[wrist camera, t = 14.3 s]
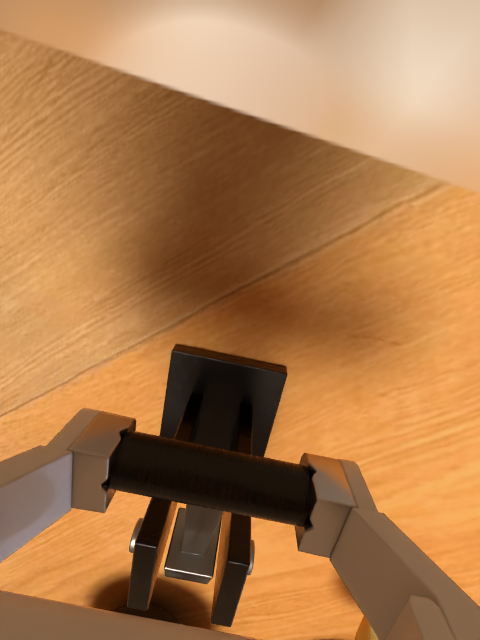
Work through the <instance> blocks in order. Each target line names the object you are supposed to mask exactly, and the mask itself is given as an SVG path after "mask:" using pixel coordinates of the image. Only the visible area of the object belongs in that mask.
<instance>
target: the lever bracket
mask: <svg viewBox="0 0 480 640" xmlns="http://www.w3.org/2000/svg"><path fill="white" fill-rule="evenodd" d="M286 377H287V370H286V367H283V366H278V365H273V364H268V363H263V362H259V361H254V360H249V359H244V358H239V357H234V356H229V355H225V354H220V353H215V352H210V351H205V350H200V349H196V348H191V347H186V346H181V345H175V347H174V348H173V350H172V353H171V360H170V367H169V374H168V381H167V388H166V395H165V402H164V409H163V417H162V424H161V431H160V436H161V437H166V438H171V439H176V440H181V441H186V442H191V443H195V444H200V445H205V446H210V447H215V448H220V449H225V450H230V451H235V452H240V453H245V454H250V455H255V456H260V457H264V454H265V451H266V447H267V444H268V440H269V437H270V433H271V430H272V426H273V423H274V419H275V416H276V412H277V409H278V405H279V402H280V398H281V395H282V391H283V388H284V384H285V381H286ZM177 503H178V502H173V501H168V500H163V499H158V498H153V497H152V498H151V501H150V503H149V506H148V509H147V511H146V514H145V517H144V519H143V518H139V520H138V521H137V523H136V526H135V528H134V531H133V534H132V538H131V542H130V547H129V552H131V553H133V561H132V569H131V576H130V584H129V592H128V600H127V607H128V608H133V609H138V610H143V611H147V609H148V607H149V603H150V600H151V596H152V592H153V589H154V585H155V582H156V578H157V574H158V571H159V567H160V564H161V560H162V556H163V553H164V549H165V546H166V542H167V539H168V535H169V531H170V528H171V524H172V521H173V517H174V513H175V510H176V506H177ZM254 553H255V545H254V541H253V540H251V517H250V516H244V515H239V514H234V513H229V512H224V513H223V516H222V525H221V534H220V543H219V552H218V561H217V570H216V579H215V588H214V597H213V606H212V615H211V623H212V624H216V625H222V626H227V627H231V625H232V622H233V619H234V616H235V612H236V609H237V606H238V603H239V600H240V596H241V593H242V590H243V587H244V584H245V581H246V577H247V575H251V572H252V569H253V563H254Z"/></svg>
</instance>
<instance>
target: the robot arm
mask: <svg viewBox="0 0 480 640" xmlns="http://www.w3.org/2000/svg"><path fill="white" fill-rule="evenodd" d="M135 430H136V420H135V418H130V417H126V416H121V415H117V414H112V413H108V412H104V411H102V412H101V411H98V410H93V409H89V408H83V409H81V410H80V411H79V412H78V413H77V414H76V415H75V416H74V417H73V418H72V419H71V420H70V421H69V422H68V423H67V424H66V426H65V427H64V428H63V429H62V430H61V431H60V432H59V433H58V434H57V435H56V436H55V437H54V438H53V439H52V440H51V441H50V442H49V443H48V445H47V446H41V445H40V446H38V447H35V448H33V449H30V450H28V451H26V452H23V453H21V454H18V455H16V456H14V457H11V458H9V459H7V460H4V461H2V462H0V562H2V561H3V560H4V559H6V558H7V557H9V556H10V555H11V554H13V553H14V552H15V551H17V550H18V549H19V548H21V547H22V546H23V545H25V544H26V543H27V542H29V541H30V540H31V539H33V538H34V537H35V536H37V535H38V534H39V533H41V532H42V531H43V530H45V529H46V528H47V527H49V526H50V525H51V524H53V523H54V522H55V521H57V520H58V519H59V518H61V517H62V516H63V515H65V514H66V513H67V512H69V511H70V510H71V508H76V509H82V510H89V511H95V512H101V513H105V511H106V509H107V507H108V505H109V503H110V501H111V500H112V498H113V496H114V494H115V492H116V490H113V489H111V488H110V485H109V478H110V474H111V472H112V467H113V464H114V461H115V458H116V455H117V452H118V450H119V447H120V443H121V441H122V439H123V438H124V436H125V435H126V434H127V433H128V432H129V431H135ZM300 465H304V466H305V467H306V468H307V469H308V471H309V475H310V481H311V482H310V504H309V510H308V512H309V513H308V517H307V520H306V522H305V524H303V525H302V526H295V531H296V538H297V546H298V551H301V552H306V553H310V554H314V555H319V556H323V557H328V558H330V561H331V563H332V565H333V566H334V568H335V569H336V571H337V573H338V574H339V576H340V577H341V579H342V581H343V582H344V584H345V585H346V587H347V589H348V590H349V592H350V593H351V595H352V597H353V598H354V600H355V601H356V603H357V605H358V606H359V608H360V609H361V611H362V613H363V614H364V616H365V618H366V619H367V621H368V622H369V624H370V626H371V627H372V629H373V630H374V632H375V634H376V635H377V637H378V638H379V640H480V607H479V606H478V605H477V604H476V603H475V602H474V601H473V600H472V599H471V598H470V597H469V596H468V595H467V594H466V593H465V592H464V591H463V590H462V589H461V588H460V587H459V586H458V585H457V584H456V583H455V582H454V581H452V580H451V579H450V578H449V577H448V576H447V575H446V574H445V573H444V572H443V571H442V570H441V569H440V568H439V567H438V566H437V565H436V564H435V563H434V562H433V561H432V560H431V559H430V558H429V557H428V556H427V555H426V554H425V553H424V552H423V551H422V550H421V549H420V548H419V547H418V546H417V545H416V544H415V543H414V542H412V541H411V540H410V539H409V538H408V537H407V536H406V535H405V534H404V533H403V532H402V531H401V530H400V529H399V528H398V527H397V526H396V525H395V524H394V523H393V522H392V521H391V520H390V519H389V518H388V517H387V516H386V515H385V514H384V513H379V512H378V510H377V508H376V506H375V504H374V501H373V499H372V497H371V494H370V492H369V490H368V488H367V485H366V483H365V481H364V478H363V476H362V474H361V472H360V469H359V467H358V465H357V464H356V463H355V462H353V461H348V460H342V459H334V458H329V457H324V456H319V455H314V454H309V453H304V454H303V455H302V457H301V460H300ZM0 640H261V639H256V638H251V637H245V636H240V635H235V634H229V633H224V632H219V631H214V630H208V629H203V628H198V627H192V626H187V625H182V624H176V623H171V622H166V621H160V620H155V619H150V618H144V617H139V616H134V615H128V614H123V613H118V612H112V611H107V610H102V609H96V608H91V607H86V606H80V605H75V604H70V603H65V602H59V601H54V600H49V599H44V598H38V597H33V596H28V595H22V594H17V593H12V592H7V591H1V590H0Z"/></svg>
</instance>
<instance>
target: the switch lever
mask: <svg viewBox="0 0 480 640" xmlns="http://www.w3.org/2000/svg"><path fill="white" fill-rule="evenodd" d="M310 482H311V481H310V475H309V471H308V469H307V468H306V467H305V466H304V465H300V464H295V463H290V462H285V461H280V460H275V459H270V458H265V457H260V456H255V455H250V454H245V453H240V452H235V451H230V450H225V449H220V448H215V447H210V446H205V445H200V444H195V443H191V442H186V441H181V440H176V439H171V438H166V437H161V436H156V435H151V434H146V433H141V432H136V431H129V432H128V433H127V434H126V435H125V436H124V438H123V439H122V441H121V443H120V447H119V450H118V452H117V455H116V458H115V461H114V464H113V467H112V472H111V474H110V478H109V485H110V488H111V489H113V490H118V491H123V492H128V493H133V494H138V495H143V496H148V497H153V498H158V499H163V500H168V501H173V502H179V503H184V504H187V505H186V509H185V508H179V509H178V513H177V517H176V521H175V526H174V530H173V534H172V538H171V542H170V546H169V550H168V554H167V558H166V562H165V566H164V569H165V576H167V577H172V578H177V579H182V580H187V581H193V582H198V583H203V584H208V582H209V581H210V580H211V579H212V578H213V574H214V567H215V560H216V554H217V547H218V540H219V533H220V527H221V520H222V515H223V513H224V512H229V513H234V514H239V515H244V516H250V517H255V518H260V519H265V520H270V521H275V522H280V523H285V524H290V525H295V526H302V525H303V524H305V522H306V520H307V517H308V513H309V512H308V510H309V504H310Z"/></svg>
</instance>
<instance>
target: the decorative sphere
mask: <svg viewBox="0 0 480 640" xmlns="http://www.w3.org/2000/svg"><path fill="white" fill-rule="evenodd" d="M112 612H118V613H123V614H128V615H134V616H139V617H144V618H150V619H155V620H160V621H166V622H171V623H176V624H181V623H180V622H179V621H178V620H177V619H176V618H175V617H174V616H173V615H171V614H170V613H169V612H167V611H166V610H163V609H161V608H159V607H157V606H153V605H149V607H148V609H147V611H143V610H138V609H133V608H128V607H127V606H124V607H121V608H118V609H116V610H114V611H112Z"/></svg>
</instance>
